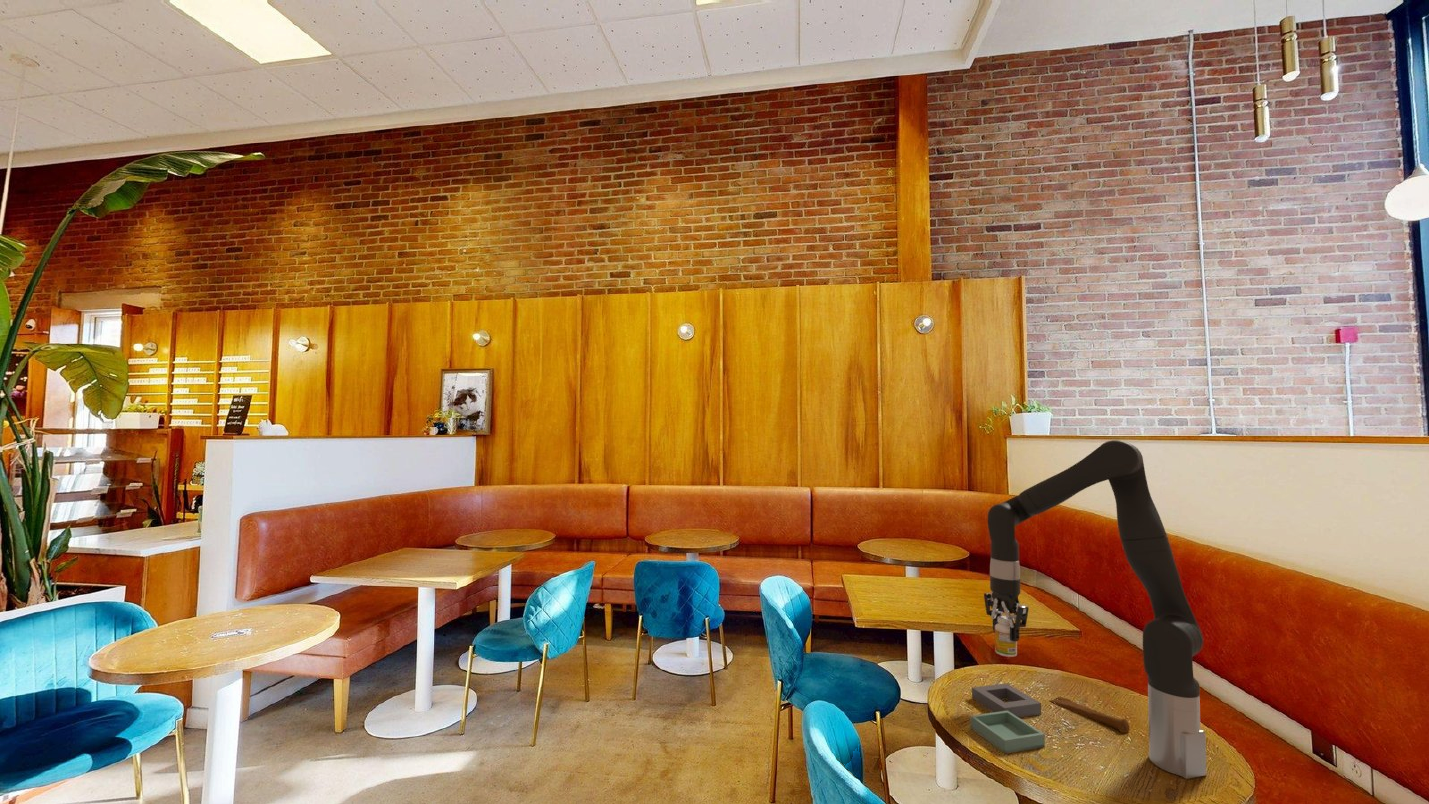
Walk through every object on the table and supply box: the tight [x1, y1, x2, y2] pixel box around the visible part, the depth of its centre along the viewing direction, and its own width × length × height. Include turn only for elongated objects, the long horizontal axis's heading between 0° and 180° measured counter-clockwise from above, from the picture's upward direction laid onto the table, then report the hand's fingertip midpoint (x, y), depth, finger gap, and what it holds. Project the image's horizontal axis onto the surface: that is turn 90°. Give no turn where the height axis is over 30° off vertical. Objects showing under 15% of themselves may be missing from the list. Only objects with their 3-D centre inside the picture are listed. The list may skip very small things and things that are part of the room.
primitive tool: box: [1050, 696, 1130, 734], centre depth 150 cm, size 19×6×4 cm, turn 27°
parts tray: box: [969, 711, 1046, 754], centre depth 138 cm, size 12×12×3 cm
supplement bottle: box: [994, 615, 1018, 658], centre depth 154 cm, size 5×5×10 cm
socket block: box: [971, 682, 1042, 719], centre depth 153 cm, size 12×12×3 cm
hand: (1005, 636), depth 154 cm, fingers closed on supplement bottle, 5 cm apart
